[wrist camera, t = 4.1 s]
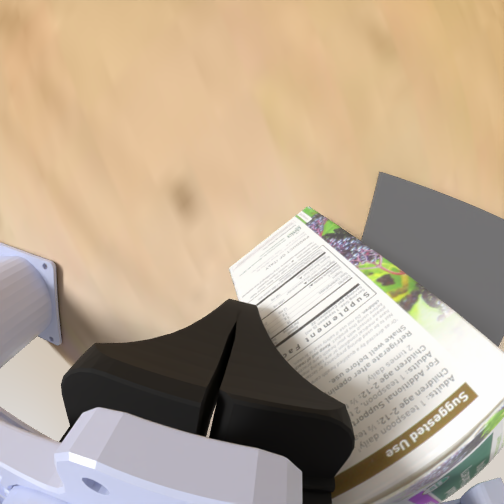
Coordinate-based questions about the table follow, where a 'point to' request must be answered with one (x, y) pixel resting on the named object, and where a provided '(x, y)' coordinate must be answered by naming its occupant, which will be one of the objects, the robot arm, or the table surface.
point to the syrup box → (379, 361)
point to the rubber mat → (442, 248)
